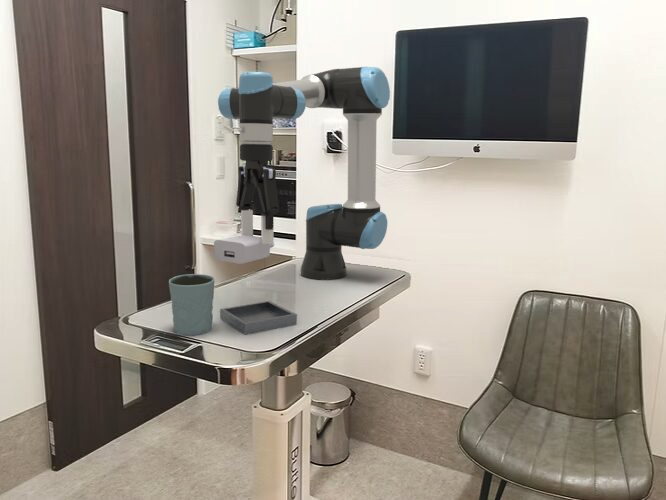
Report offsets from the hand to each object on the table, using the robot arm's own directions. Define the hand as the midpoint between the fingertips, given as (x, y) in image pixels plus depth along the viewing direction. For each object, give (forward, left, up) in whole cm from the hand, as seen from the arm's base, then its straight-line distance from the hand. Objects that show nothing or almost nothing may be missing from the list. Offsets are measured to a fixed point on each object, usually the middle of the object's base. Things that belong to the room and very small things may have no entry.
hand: (257, 240), depth 130 cm
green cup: (+15, -3, -20) cm, 26 cm away
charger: (+1, 0, -4) cm, 4 cm away
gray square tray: (0, 0, -20) cm, 20 cm away
